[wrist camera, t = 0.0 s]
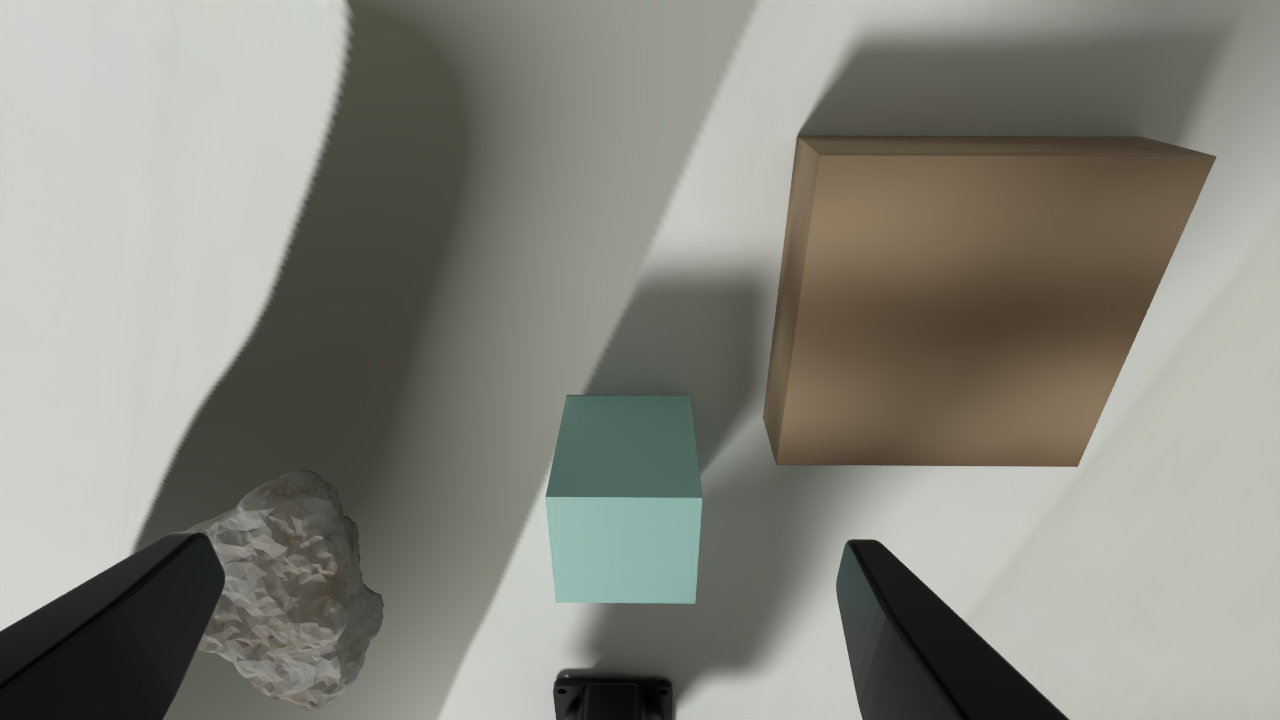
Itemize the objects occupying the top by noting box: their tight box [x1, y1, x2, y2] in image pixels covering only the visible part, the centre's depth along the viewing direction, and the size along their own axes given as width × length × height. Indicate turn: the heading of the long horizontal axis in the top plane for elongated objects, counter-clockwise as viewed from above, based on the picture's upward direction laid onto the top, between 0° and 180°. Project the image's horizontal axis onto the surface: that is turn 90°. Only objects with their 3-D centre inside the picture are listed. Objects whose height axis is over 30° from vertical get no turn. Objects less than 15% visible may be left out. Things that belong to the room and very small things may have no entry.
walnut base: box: [763, 136, 1216, 467], centre depth 21 cm, size 11×11×3 cm
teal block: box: [546, 395, 702, 604], centre depth 24 cm, size 5×5×6 cm
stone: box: [185, 470, 384, 711], centre depth 27 cm, size 10×8×6 cm
